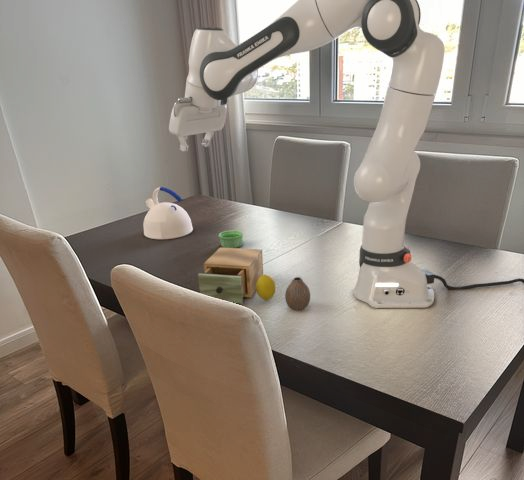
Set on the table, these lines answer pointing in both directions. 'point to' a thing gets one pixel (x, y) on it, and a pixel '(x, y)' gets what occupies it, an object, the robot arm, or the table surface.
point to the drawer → (224, 283)
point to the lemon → (265, 287)
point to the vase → (297, 295)
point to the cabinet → (239, 264)
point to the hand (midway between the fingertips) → (194, 148)
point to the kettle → (166, 218)
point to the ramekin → (231, 239)
